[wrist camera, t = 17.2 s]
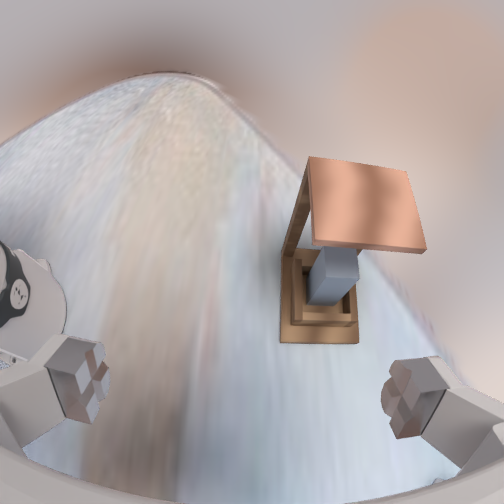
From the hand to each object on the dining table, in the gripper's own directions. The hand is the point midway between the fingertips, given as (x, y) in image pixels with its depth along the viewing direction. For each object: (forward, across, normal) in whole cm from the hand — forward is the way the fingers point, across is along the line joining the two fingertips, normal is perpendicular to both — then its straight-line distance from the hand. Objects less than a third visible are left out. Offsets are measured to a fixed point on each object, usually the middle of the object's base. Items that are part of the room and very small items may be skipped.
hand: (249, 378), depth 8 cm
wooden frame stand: (+34, -11, +14) cm, 38 cm away
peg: (+34, -11, +12) cm, 37 cm away
